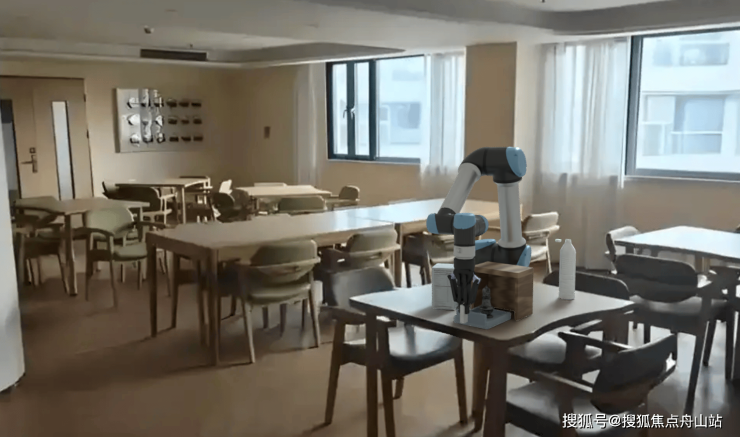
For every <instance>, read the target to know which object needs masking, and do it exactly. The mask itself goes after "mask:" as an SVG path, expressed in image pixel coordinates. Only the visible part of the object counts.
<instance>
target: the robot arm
mask: <svg viewBox="0 0 740 437" xmlns="http://www.w3.org/2000/svg"><path fill="white" fill-rule="evenodd" d="M527 167H528V165H527V158H526V155H525V151H523V150H522V148H521V147H516V146H515V147H514V146H483V147H479V148H477V149H475V150H472V152H470V153H469V154H468V155H467V156H465V158H464V159H463V160H462V161H461V163H460V164H459V166H458V169H457V175H456V177H455V179H454V181H453V183H452V184H451V187H450V188H449V190H448V193H447V194H446V197H445V198H444V200H443V201H442V204H441V206H440V207H439V210H438V211H437V213H436V212H434V213H430V214H428V216H427V217H426V223H425V224H426V225H425V226H426V229H427V232H429V233H430V234H436V235H449V236H450V235H451V236H452V235H453V264H454V271H453V273H452V274H450V275H448V276H447V277H448V279H449V281H450V285H451V290H452V296H453V301H454V302H457V303H458V306H457V309H458V312H459V313H460V323H463V324H462V325H464V323H466V322H468V314H469V313H470V309H471V304H473V303H475V299H476V295H477V291H478V286H479V284H480V282H481V278H478V277H477V276H476V274H475V271H474V269H475V265H477V264H481V263H484V262H495V263H503V264H510V265H517V266H525V267H530V263H531V259H532V252H533V251H532V247H531V245H528V244H527V240H526V239H525V238H524V236H523V233H522V218H521V217H522V216H521V203H520V202H521V201H520V200H521V199H520V186H519V185H520V184H519V183H521V182H522V181H523V177H524V176H525V175H526V174H527ZM484 176H488V177H489V176H490V177H492V182H493V183H494V184H496V188H497V189H496V190H497V199H498V200H497V203H498V213H499V214H498V216H499V226H500V227H499V229H500V230H499V231H500V238H499V239H498V240H496V239H494V238H484V239H478V240H476V238H477V237H480V236H482V235H484V234H486V233H487V231H488V229H489V220H488V219H487V217H486V216H484V215H482V214H475V213H473V212H461V211H462V209H463V207H464V205H465V203H466V201H467V199H468V197H469V195H470V193H471V191H472V190H473V188H474V186H475V184H476V182H478V181H479V180H480V179H481V177H484ZM456 279H457V281H456ZM472 280H473V284H472V288H471V281H472ZM457 285H458V286H457Z"/></svg>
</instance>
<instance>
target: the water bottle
mask: <svg viewBox="0 0 740 437" xmlns="http://www.w3.org/2000/svg"><path fill="white" fill-rule="evenodd" d="M554 241H555V243H561V242H562V239H559V238H555V239H554ZM572 243H573V242H572V239H571V238H565V241H564V243H563V244H562V246H561V248H560V249H559V267H558V268H559V269H558V270H559V271H558V272H559V274H558V282H559V283H558V299H560V298H561V300H565V301H566V300H567V301H568V300H569V301H571V300H575V298H576V295H575V294H576V293H575V292H576V273H577V272H576V262H577V260H576V258H577V250H576V248H575V247H574V245H573V244H572Z"/></svg>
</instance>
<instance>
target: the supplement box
mask: <svg viewBox="0 0 740 437" xmlns="http://www.w3.org/2000/svg"><path fill="white" fill-rule="evenodd" d="M453 271H454V263H437V262H436V264H434V265H433V266H432V267H431V309H434V310H446V311H447V310H451V311H456V310H457V309H458V303H457V302H454V301H453V296H452V290H451V285H450V281H449V279H448V277H447V276H448V275H450V274H452V273H453ZM456 281H457V279H456ZM457 286H458V285H457Z"/></svg>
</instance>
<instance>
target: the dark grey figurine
mask: <svg viewBox="0 0 740 437" xmlns="http://www.w3.org/2000/svg"><path fill="white" fill-rule="evenodd" d="M490 298H491V297H490V288H488V287H487V285H486V287H485V288H483V296H482V305H481V306H479V307H478V308H479V311H480V312H481V313H482V314H487V318H493V316H492V315H491V313H492V312H493V309H495V308H494V307H493V306H491V303H490Z"/></svg>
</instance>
